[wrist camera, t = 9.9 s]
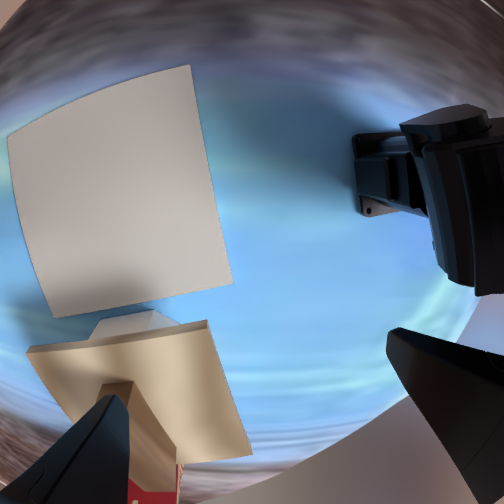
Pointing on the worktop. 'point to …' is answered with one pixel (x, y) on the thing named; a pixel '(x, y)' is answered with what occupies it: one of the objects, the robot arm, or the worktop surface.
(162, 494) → the milk carton
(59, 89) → the worktop surface
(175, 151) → the tray
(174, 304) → the worktop surface
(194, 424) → the lid
